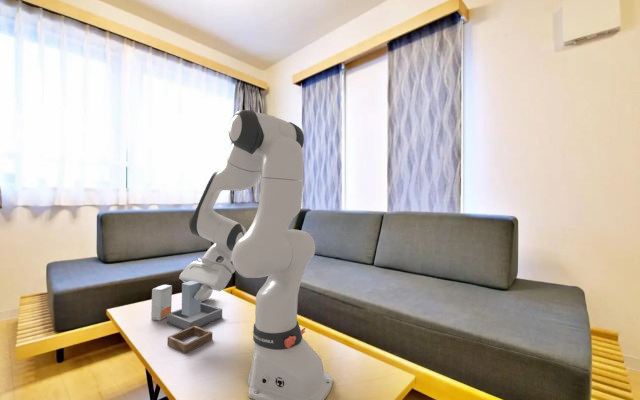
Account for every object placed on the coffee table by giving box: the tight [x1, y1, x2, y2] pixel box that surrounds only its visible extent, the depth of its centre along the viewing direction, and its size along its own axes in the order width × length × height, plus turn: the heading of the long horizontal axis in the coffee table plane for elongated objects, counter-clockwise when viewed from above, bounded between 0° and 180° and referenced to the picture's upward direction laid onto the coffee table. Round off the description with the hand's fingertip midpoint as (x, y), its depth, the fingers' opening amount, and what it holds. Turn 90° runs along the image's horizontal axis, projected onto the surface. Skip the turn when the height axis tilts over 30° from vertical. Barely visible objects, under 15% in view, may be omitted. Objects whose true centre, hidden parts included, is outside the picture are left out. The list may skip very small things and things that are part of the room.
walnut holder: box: [167, 325, 213, 354], centre depth 89 cm, size 10×10×2 cm
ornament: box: [201, 289, 214, 303], centre depth 125 cm, size 10×10×12 cm
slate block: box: [181, 281, 202, 317], centre depth 89 cm, size 4×4×10 cm
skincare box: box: [150, 284, 173, 321], centre depth 107 cm, size 6×4×12 cm
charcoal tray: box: [166, 302, 223, 331], centre depth 105 cm, size 14×14×4 cm
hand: (189, 297), depth 88 cm, fingers closed on slate block, 4 cm apart
